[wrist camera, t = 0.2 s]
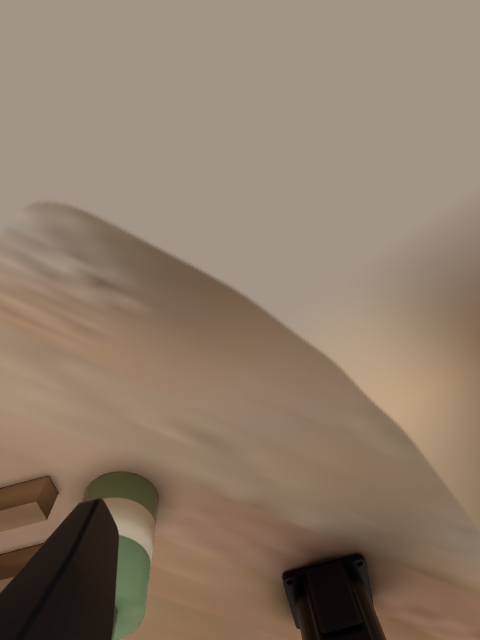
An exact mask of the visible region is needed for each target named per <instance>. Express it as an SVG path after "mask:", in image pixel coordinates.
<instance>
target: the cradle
mask: <svg viewBox="0 0 480 640" xmlns="http://www.w3.org/2000/svg"><path fill="white" fill-rule="evenodd" d="M57 495H58V492H57V490H56V488H55V486H54V485H53V483H52V481H51V479H50V478H49V476H47V477H43V478H39V479H35V480H31V481H28V482H24V483H20V484H16V485H12V486H9V487H5V488H1V489H0V532H2V531H6V530H9V529H13V528H17V527H21V526H25V525H29V524H32V523H36V522H40V521H44V520H47V519H48V516H49V514H50V512H51V509H52V507H53V505H54V502H55V500H56V498H57ZM42 545H43V544H40V545H36V546H33V547H29V548H25V549H21V550H17V551H13V552H10V553H6V554H2V555H0V592H1V591H2V590H3V589H4V588H5V587H6V586H7V584H8V583H9V582H10V581H11V580H12V579H13V578H14V576H15V575H16V574H17V573H18V572H19V571H20V570H21V569H22V567H23V566H24V565H25V564H26V563H27V562H28V561H29V559H30V558H31V557H32V556H33V555H34V554H35V553H36V552H37V550H38V549H39V548H40V547H41V546H42Z"/></svg>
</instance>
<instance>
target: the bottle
mask: <svg viewBox="0 0 480 640" xmlns="http://www.w3.org/2000/svg"><path fill="white" fill-rule="evenodd" d="M95 498H102V499H103V500H104V501H105V503H106V505H107V507H108V509H109V511H110V513H111V515H112V517H113V519H114V521H115V523H116V525H117V528H118V532H119V548H118V564H117V580H116V596H115V612H114V624H113V632H112V639H111V640H119V639H121V638H124V637H125V636H127V635H129V634H131V633H132V632H133V631H135V630H136V629H137V628H138V627H139V625H140V624H141V622H142V620H143V618H144V614H145V606H146V598H147V590H148V582H149V573H150V567H151V560H152V552H153V544H154V535H155V524H156V516H157V508H158V494H157V491H156V489H155V487H154V486H153V485H152V484H151V483H150V482H149V481H148V480H147V479H145V478H143V477H142V476H139V475H137V474H134V473H129V472H113V473H108V474H105V475H102V476H100V477H98V478H97V479H95V480H94V481H93V482H91V484H90V485H89V486H88V487H87V489H86V491H85V494H84V496H83V499H82V502H83V501H87V500H91V499H95Z"/></svg>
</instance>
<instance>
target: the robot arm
mask: <svg viewBox="0 0 480 640" xmlns="http://www.w3.org/2000/svg"><path fill="white" fill-rule="evenodd" d="M118 548H119V532H118V528H117V525H116V523H115V521H114V519H113V517H112V515H111V513H110V511H109V509H108V507H107V505H106V503H105V501H104V500H103V499H102V498H95V499H91V500H87V501H83V502H81V503H79V504H78V505H77V506H76V507H75V508H74V509H73V511H72V512H71V513H70V514H69V515H68V516H67V517H66V519H65V520H64V521H63V522H62V523H61V524H60V525H59V527H58V528H57V529H56V530H55V531H54V532H53V533H52V534H51V536H50V537H49V538H48V539H47V540H46V541H45V542H44V544H43V545H42V546H41V547H40V548H39V549H38V550H37V552H36V553H35V554H34V555H33V556H32V557H31V558H30V559H29V561H28V562H27V563H26V564H25V565H24V566H23V567H22V569H21V570H20V571H19V572H18V573H17V574H16V575H15V576H14V578H13V579H12V580H11V581H10V582H9V583H8V584H7V586H6V587H5V588H4V589H3V590H2V591H1V592H0V640H111V639H112V632H113V624H114V612H115V596H116V580H117V564H118ZM282 579H283V584H284V588H285V591H286V594H287V598H288V601H289V604H290V608H291V611H292V614H293V618H294V621H295V624H296V627H297V628H298V629H300V630H301V635H302V639H303V640H386V637H385V635H384V632H383V630H382V627H381V625H380V622H379V620H378V617H377V615H376V612H375V610H374V607H373V600H372V594H371V588H370V582H369V576H368V570H367V564H366V561H365V558H364V556H363V555H360V554H359V555H354V556H350V557H346V558H343V559H339V560H335V561H331V562H327V563H324V564H320V565H316V566H312V567H308V568H304V569H301V570H297V571H293V572H289V573H286V574H284V575H283V577H282Z"/></svg>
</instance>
